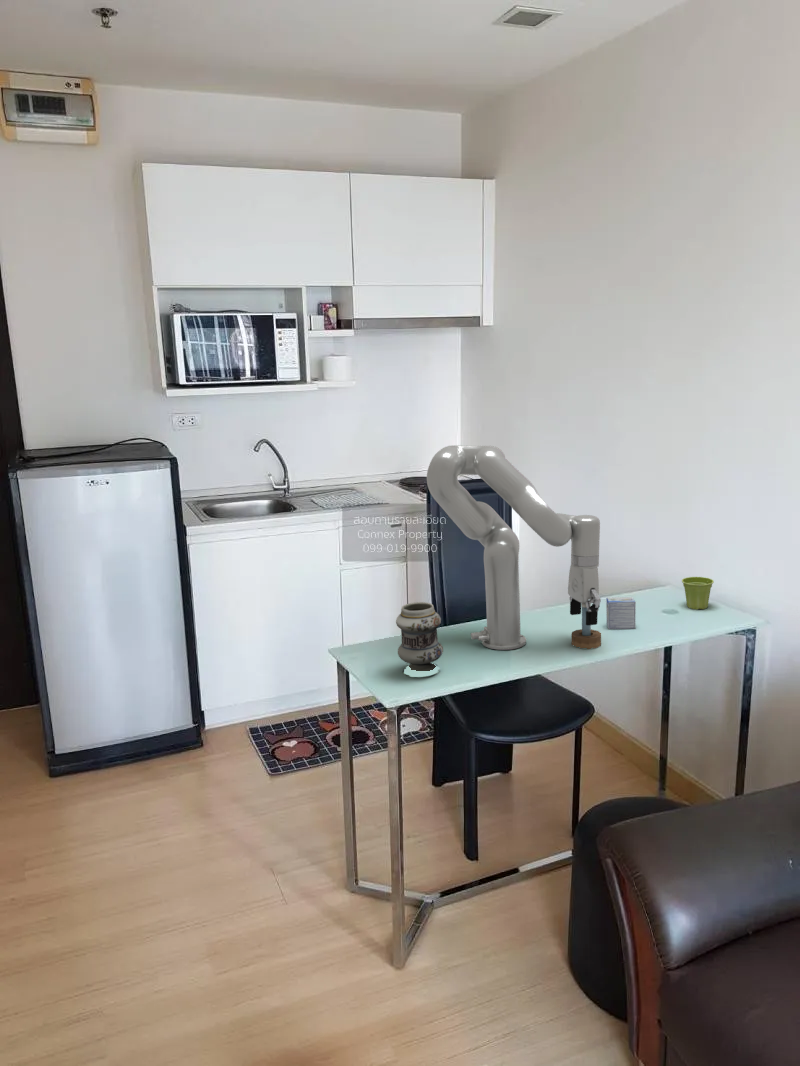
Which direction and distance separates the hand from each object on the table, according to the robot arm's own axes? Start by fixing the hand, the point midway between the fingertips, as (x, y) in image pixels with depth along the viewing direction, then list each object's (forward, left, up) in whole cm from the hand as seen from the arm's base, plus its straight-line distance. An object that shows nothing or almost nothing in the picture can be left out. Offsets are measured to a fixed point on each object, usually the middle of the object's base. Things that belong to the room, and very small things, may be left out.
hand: (583, 619), depth 227 cm
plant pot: (+48, +17, -8) cm, 51 cm away
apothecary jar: (-48, -3, -7) cm, 49 cm away
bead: (+1, 0, -7) cm, 7 cm away
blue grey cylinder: (+1, 0, -7) cm, 7 cm away
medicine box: (+17, +9, -8) cm, 20 cm away
